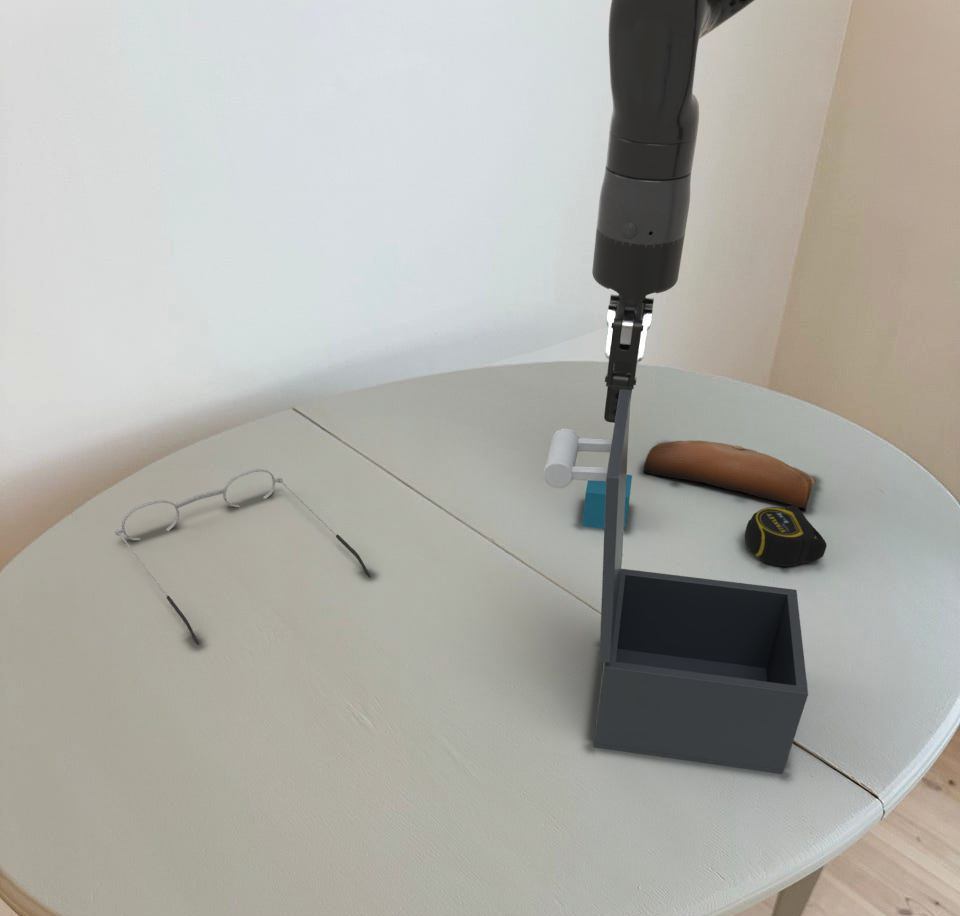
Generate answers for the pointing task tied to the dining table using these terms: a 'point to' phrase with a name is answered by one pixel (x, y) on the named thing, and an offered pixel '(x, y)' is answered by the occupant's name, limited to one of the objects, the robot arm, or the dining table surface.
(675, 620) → the open box
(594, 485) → the blue block
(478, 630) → the dining table surface
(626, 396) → the lid
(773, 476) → the sunglasses case
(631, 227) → the robot arm
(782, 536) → the tape measure
